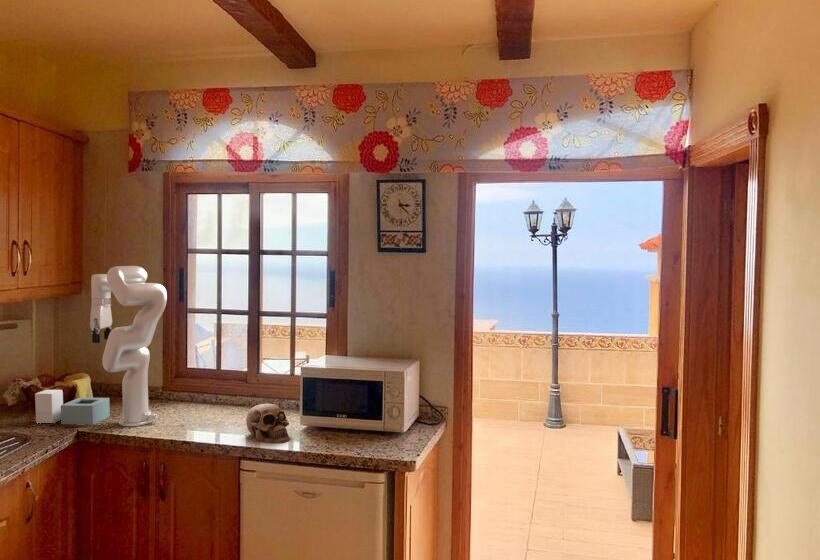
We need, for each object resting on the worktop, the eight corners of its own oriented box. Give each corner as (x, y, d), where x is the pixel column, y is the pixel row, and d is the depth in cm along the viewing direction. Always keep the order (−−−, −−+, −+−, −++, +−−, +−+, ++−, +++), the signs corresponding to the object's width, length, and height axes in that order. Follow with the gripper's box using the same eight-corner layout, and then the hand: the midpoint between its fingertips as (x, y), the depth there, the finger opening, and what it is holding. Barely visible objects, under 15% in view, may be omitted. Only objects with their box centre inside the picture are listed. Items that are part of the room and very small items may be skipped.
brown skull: (286, 443, 225) (282, 406, 225) (240, 447, 226) (236, 411, 226) (297, 431, 241) (293, 397, 241) (253, 435, 242) (250, 402, 242)
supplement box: (64, 419, 257) (63, 389, 257) (52, 424, 250) (51, 393, 249) (47, 419, 258) (46, 389, 257) (35, 424, 251) (34, 393, 250)
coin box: (109, 416, 262) (109, 397, 261) (92, 425, 249) (92, 405, 248) (79, 416, 262) (79, 397, 262) (61, 425, 249) (60, 405, 249)
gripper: (103, 300, 279) (104, 338, 280) (81, 304, 262) (82, 344, 263) (119, 300, 279) (120, 338, 280) (99, 304, 262) (100, 344, 263)
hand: (102, 341), depth 272 cm, fingers open, 9 cm apart
